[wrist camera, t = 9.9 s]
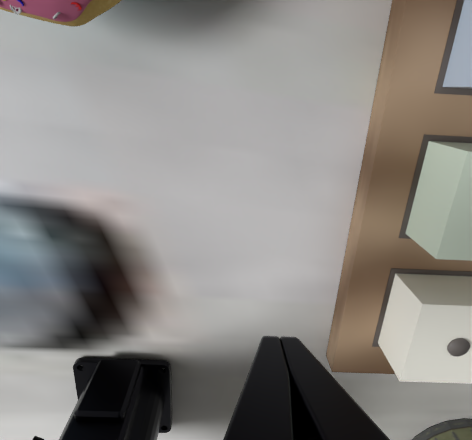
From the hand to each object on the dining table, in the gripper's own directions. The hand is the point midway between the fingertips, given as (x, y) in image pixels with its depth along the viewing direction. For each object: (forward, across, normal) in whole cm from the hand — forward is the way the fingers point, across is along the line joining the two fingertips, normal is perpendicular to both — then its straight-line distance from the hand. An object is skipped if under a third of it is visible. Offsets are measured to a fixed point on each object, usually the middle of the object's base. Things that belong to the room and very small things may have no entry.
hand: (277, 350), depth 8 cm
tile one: (+10, -11, +6) cm, 16 cm away
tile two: (+11, -11, -2) cm, 15 cm away
